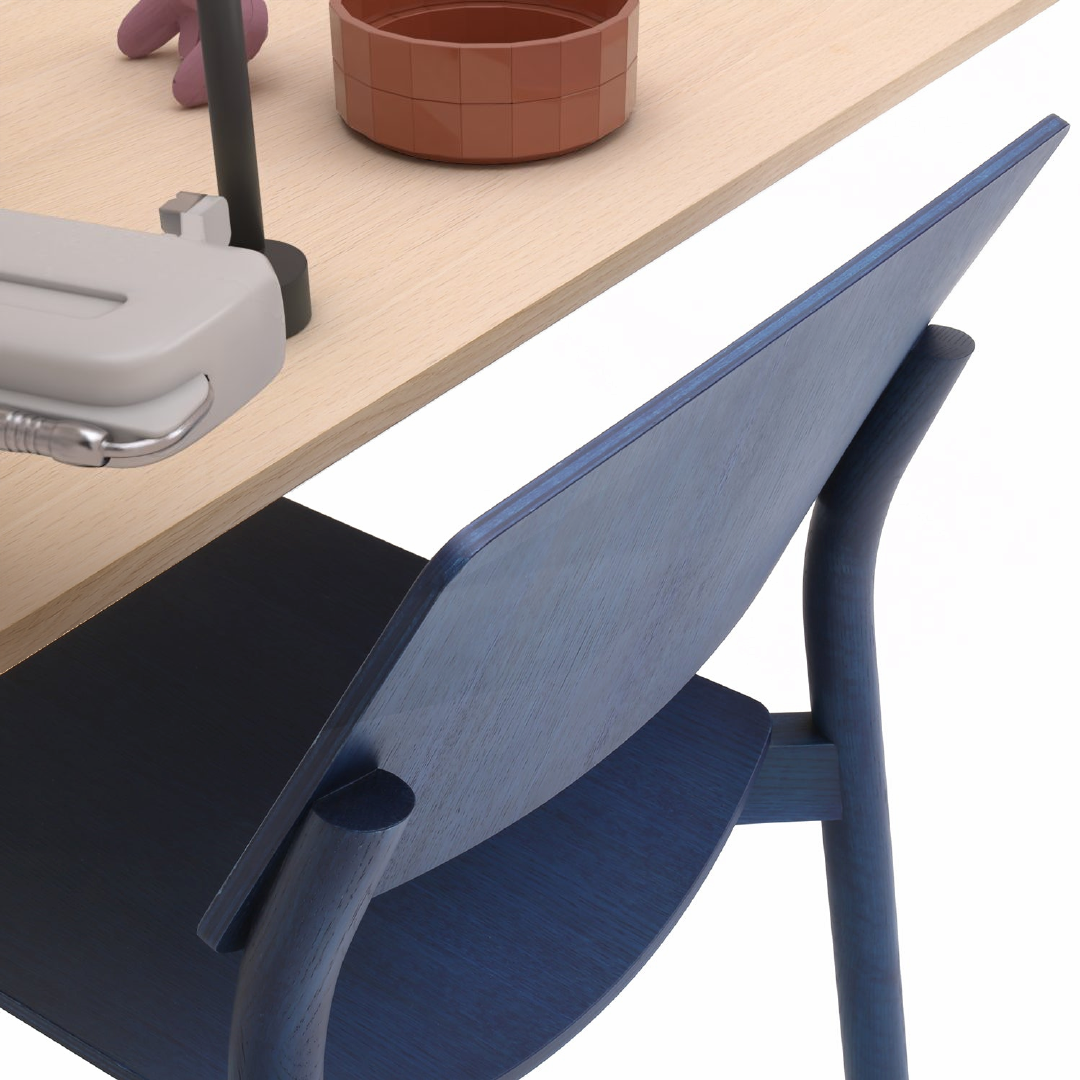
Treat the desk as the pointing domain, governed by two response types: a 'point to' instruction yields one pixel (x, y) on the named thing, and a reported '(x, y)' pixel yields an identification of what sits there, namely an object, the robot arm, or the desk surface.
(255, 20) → the video game controller
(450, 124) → the bowl
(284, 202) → the desk surface
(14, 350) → the robot arm
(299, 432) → the desk surface
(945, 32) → the desk surface
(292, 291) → the black post
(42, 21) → the desk surface
